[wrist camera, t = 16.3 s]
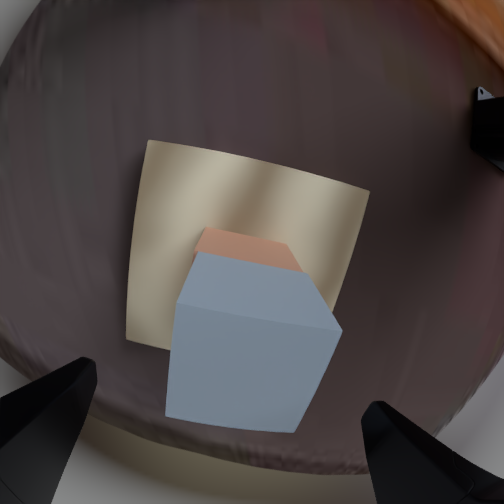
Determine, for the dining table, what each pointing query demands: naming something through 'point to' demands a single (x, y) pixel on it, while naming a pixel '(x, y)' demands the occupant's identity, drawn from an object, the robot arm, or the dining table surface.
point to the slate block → (247, 345)
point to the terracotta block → (246, 249)
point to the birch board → (230, 225)
